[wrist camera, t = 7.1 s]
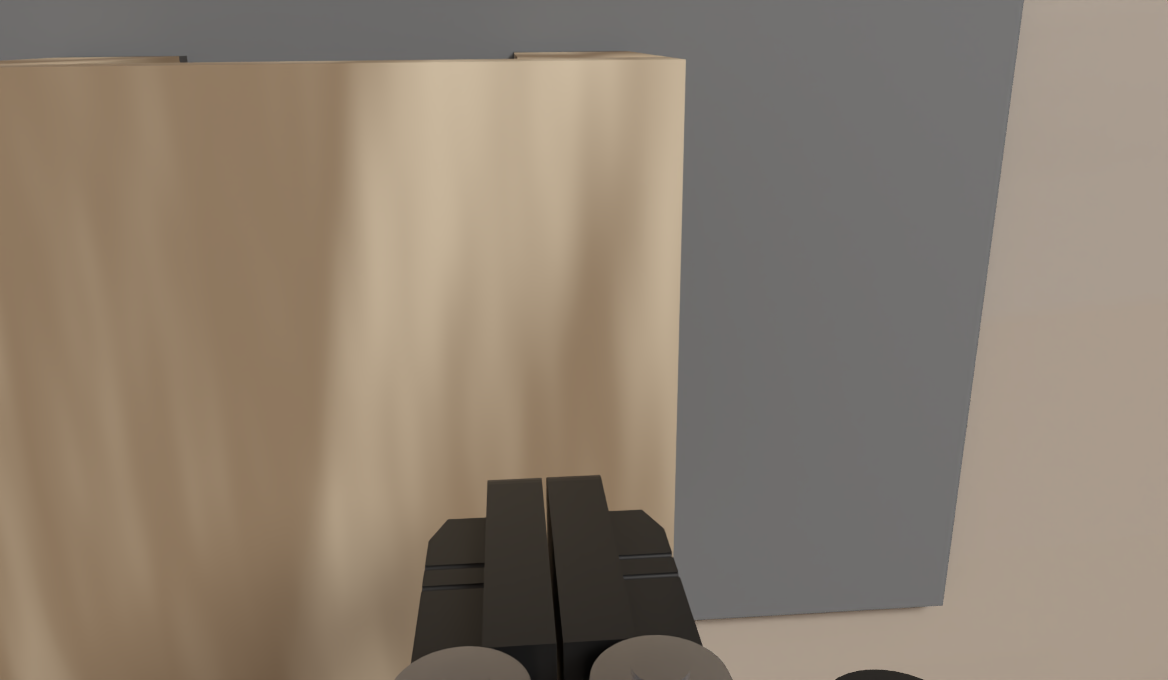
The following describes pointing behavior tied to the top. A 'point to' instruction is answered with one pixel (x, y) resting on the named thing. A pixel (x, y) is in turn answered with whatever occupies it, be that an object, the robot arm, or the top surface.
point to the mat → (744, 247)
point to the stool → (314, 340)
